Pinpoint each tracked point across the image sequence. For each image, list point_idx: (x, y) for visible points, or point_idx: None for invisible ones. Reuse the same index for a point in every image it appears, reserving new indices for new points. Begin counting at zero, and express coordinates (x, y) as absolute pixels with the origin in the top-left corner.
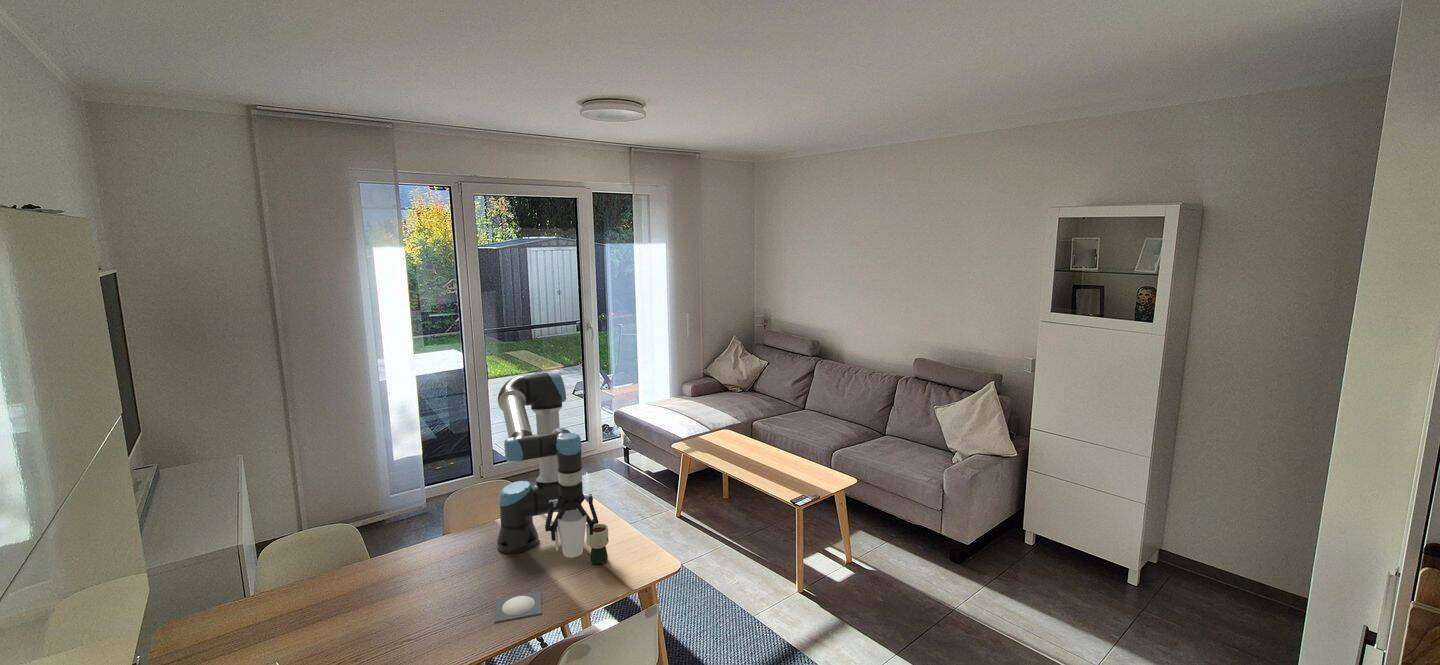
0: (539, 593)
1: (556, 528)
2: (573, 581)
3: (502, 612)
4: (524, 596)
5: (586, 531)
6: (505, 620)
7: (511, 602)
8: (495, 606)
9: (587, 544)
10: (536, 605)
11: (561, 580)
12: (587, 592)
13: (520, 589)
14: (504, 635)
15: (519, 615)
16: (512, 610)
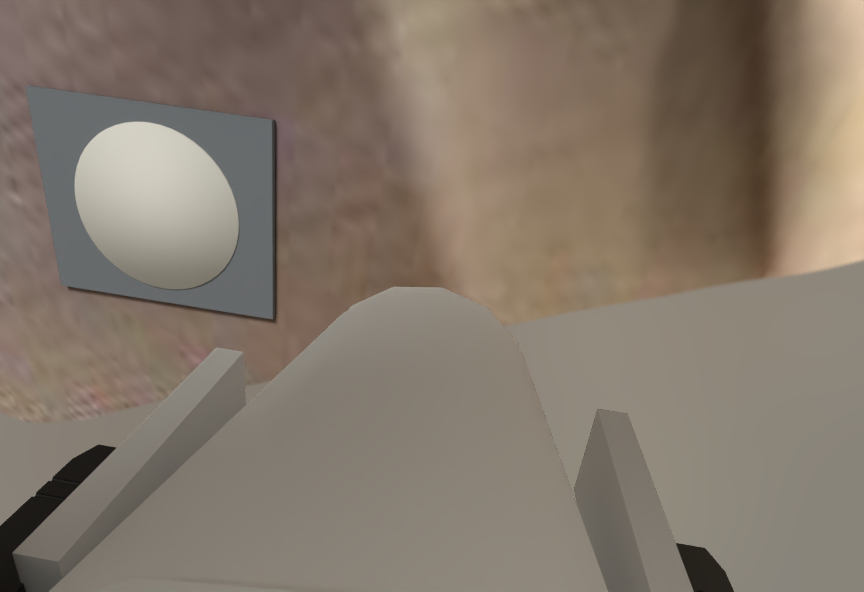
0: (265, 144)
1: (49, 568)
2: (484, 89)
3: (84, 231)
4: (181, 140)
5: (632, 525)
6: (110, 290)
7: (116, 166)
8: (39, 163)
9: (581, 469)
10: (247, 250)
11: (413, 39)
12: (529, 245)
13: (157, 30)
14: (122, 380)
15: (168, 292)
16: (130, 239)
